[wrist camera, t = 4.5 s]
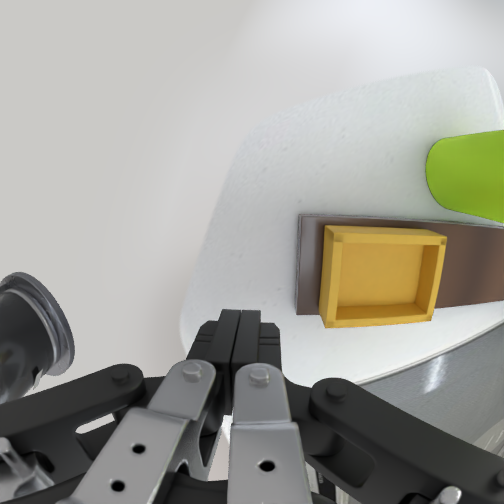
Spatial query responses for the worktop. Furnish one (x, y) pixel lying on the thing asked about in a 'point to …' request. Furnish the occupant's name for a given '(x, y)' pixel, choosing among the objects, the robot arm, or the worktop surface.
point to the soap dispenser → (469, 174)
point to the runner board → (458, 234)
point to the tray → (379, 275)
